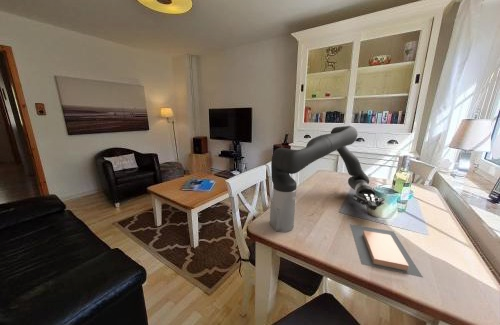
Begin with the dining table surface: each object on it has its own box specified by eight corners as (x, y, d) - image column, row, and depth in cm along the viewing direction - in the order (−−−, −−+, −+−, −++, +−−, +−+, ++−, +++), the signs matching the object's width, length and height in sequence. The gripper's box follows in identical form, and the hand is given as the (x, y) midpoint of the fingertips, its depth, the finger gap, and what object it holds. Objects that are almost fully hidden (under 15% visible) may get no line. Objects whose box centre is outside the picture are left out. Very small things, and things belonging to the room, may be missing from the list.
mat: (349, 225, 84) (349, 224, 84) (393, 232, 79) (393, 231, 79) (361, 265, 62) (361, 264, 62) (422, 279, 57) (423, 277, 57)
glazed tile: (363, 230, 76) (374, 258, 61) (390, 234, 73) (408, 265, 59) (362, 235, 77) (373, 264, 62) (389, 239, 74) (407, 271, 59)
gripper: (350, 183, 99) (357, 197, 83) (381, 186, 94) (393, 201, 79) (348, 197, 100) (354, 213, 85) (378, 200, 96) (390, 218, 80)
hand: (373, 207), depth 82 cm, fingers closed
